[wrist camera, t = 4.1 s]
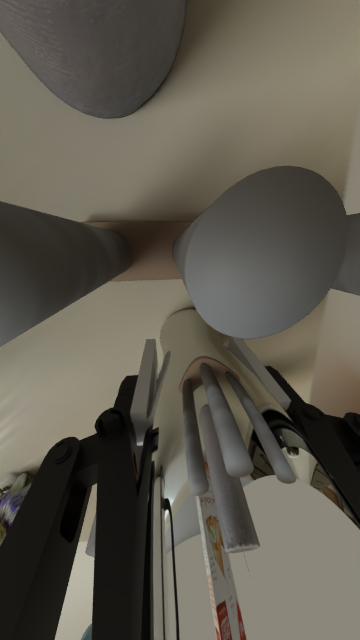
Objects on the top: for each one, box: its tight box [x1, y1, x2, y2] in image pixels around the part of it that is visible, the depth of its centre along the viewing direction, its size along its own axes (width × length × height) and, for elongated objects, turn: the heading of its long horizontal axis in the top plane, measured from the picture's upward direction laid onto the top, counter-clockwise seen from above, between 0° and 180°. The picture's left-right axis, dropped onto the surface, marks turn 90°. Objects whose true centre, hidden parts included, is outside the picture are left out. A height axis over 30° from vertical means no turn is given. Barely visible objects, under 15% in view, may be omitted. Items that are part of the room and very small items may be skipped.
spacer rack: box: [0, 166, 360, 557], centre depth 11 cm, size 20×16×11 cm
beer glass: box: [129, 309, 360, 640], centre depth 10 cm, size 7×7×15 cm
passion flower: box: [0, 472, 32, 546], centre depth 24 cm, size 11×11×12 cm
